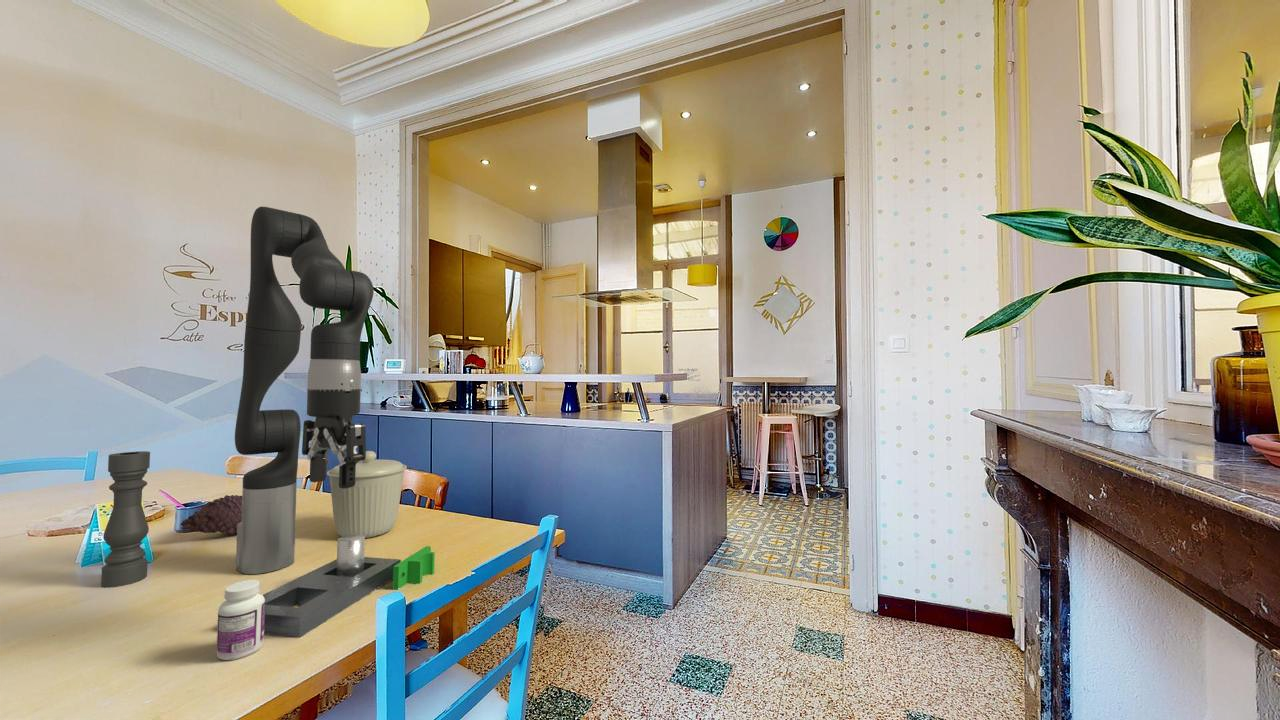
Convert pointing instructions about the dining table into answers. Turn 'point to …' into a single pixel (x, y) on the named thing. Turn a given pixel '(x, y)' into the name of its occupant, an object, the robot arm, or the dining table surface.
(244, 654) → the pill bottle
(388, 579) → the hole plate
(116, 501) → the candle holder
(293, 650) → the dining table surface
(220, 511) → the pine cone
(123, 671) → the dining table surface
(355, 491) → the canister
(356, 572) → the clear glass cylinder
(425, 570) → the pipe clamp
